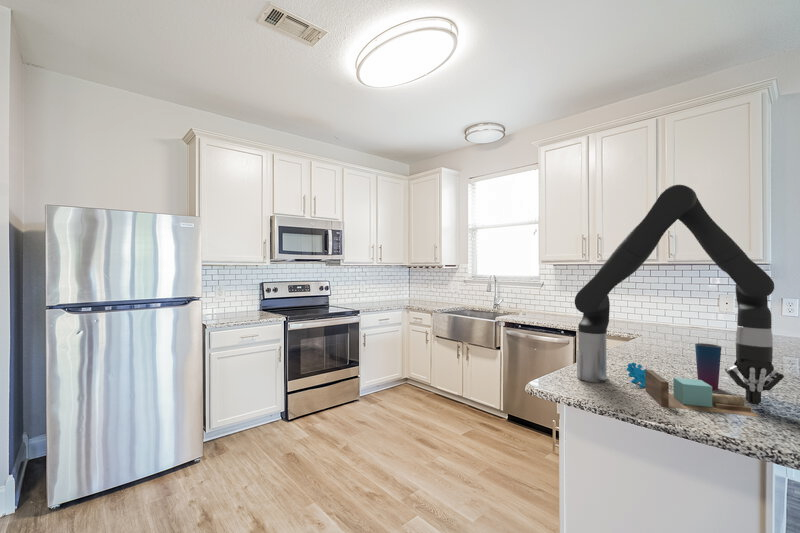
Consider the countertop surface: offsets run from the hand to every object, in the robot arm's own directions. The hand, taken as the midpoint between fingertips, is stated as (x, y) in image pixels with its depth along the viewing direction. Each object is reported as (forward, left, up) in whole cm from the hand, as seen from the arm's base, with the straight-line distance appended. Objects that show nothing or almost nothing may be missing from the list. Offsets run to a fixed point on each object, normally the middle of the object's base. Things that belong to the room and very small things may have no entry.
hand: (753, 403), depth 104 cm
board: (-13, 0, -2) cm, 13 cm away
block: (-15, 0, -1) cm, 15 cm away
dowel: (-7, 0, -1) cm, 7 cm away
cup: (-3, +19, -2) cm, 19 cm away
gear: (-23, +15, -2) cm, 28 cm away
